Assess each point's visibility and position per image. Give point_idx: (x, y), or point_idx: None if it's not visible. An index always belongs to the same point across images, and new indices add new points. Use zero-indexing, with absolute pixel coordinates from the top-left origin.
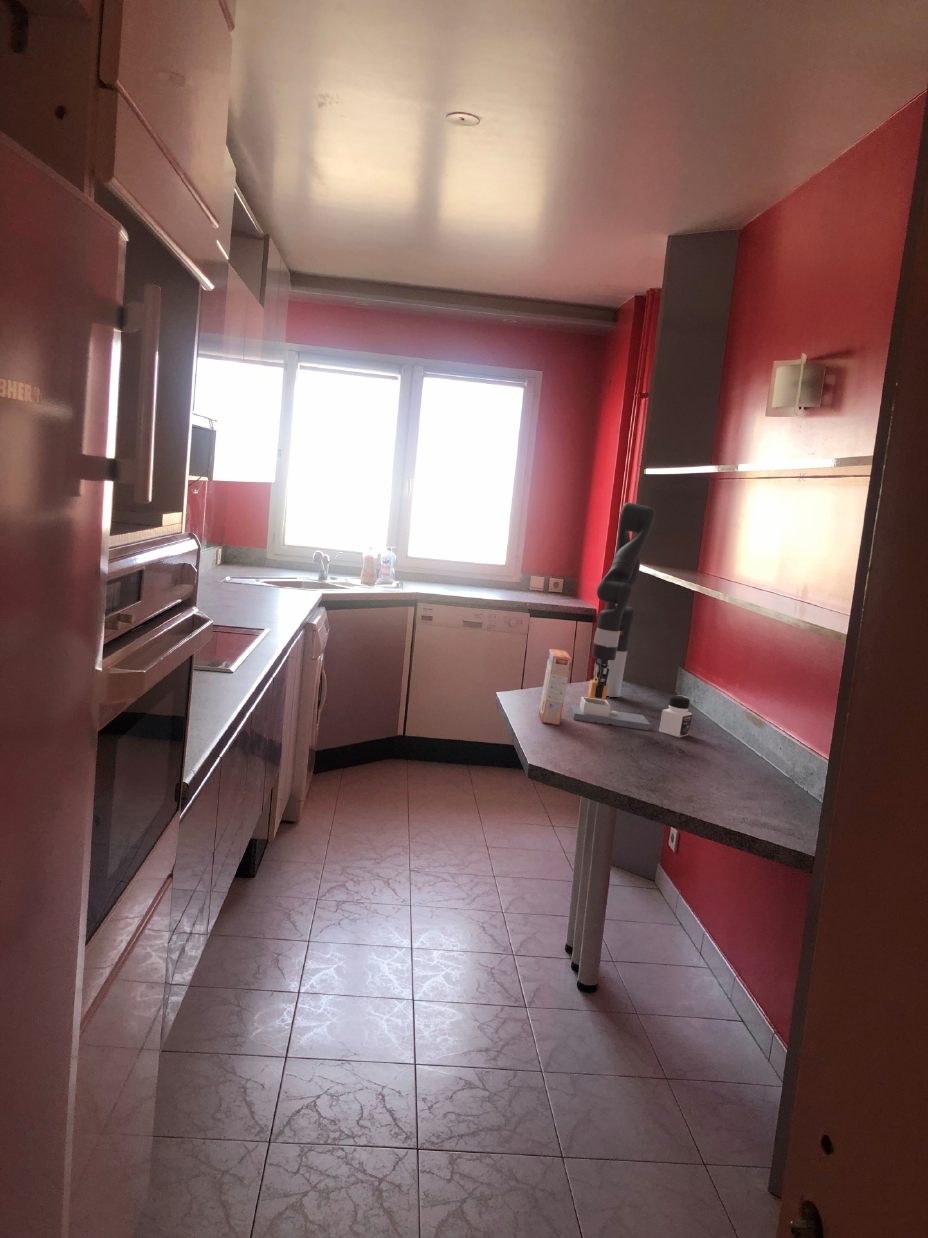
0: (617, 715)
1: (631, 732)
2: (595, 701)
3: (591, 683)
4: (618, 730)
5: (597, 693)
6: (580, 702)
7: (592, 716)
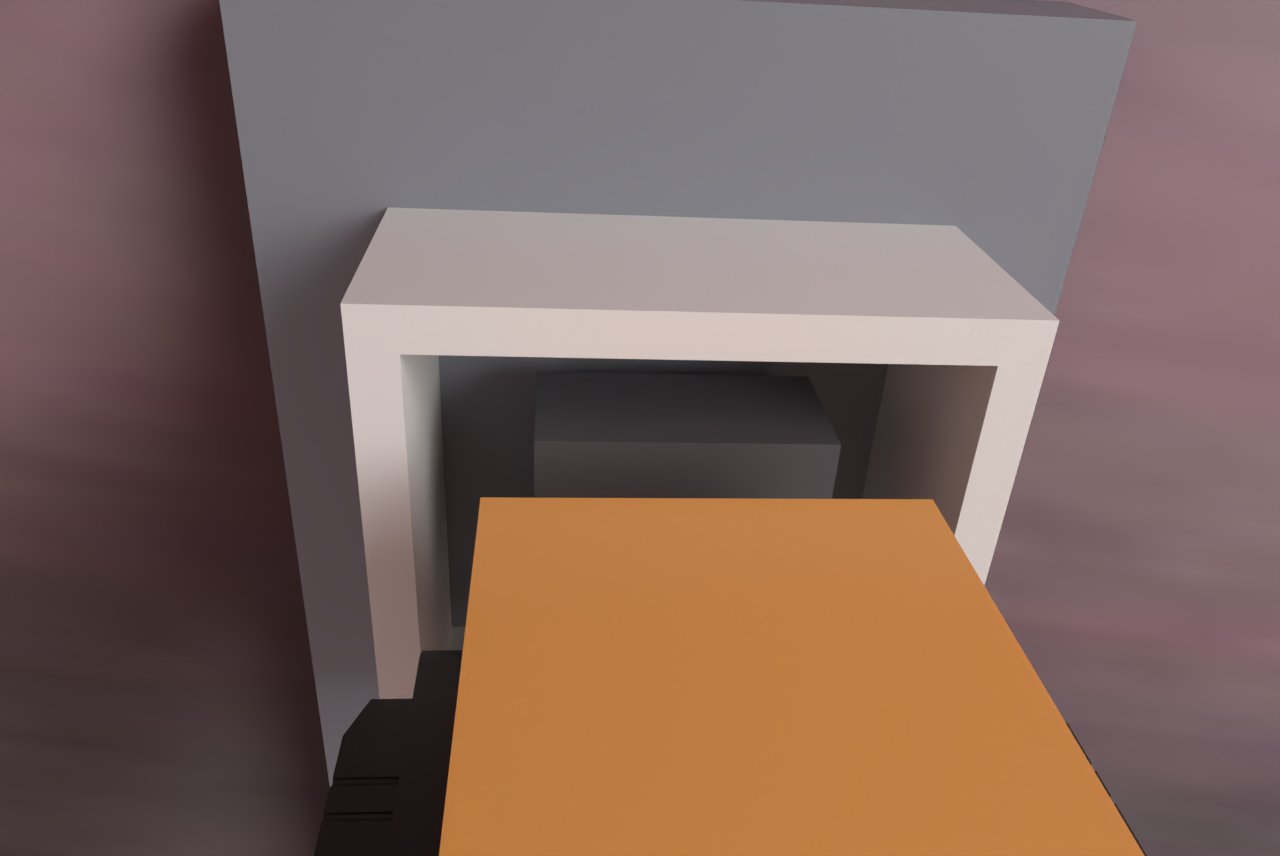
0: None
1: (87, 803)
2: None
3: (663, 844)
4: (52, 666)
5: (335, 774)
6: (984, 263)
7: (277, 378)
